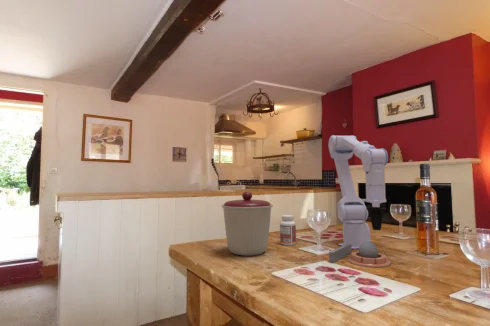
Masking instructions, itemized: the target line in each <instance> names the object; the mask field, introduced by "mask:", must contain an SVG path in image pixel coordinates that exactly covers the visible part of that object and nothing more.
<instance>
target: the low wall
mask: <svg viewBox="0 0 490 326" xmlns="http://www.w3.org/2000/svg"><path fill="white" fill-rule="evenodd" d="M352 252H353V251H352V248H351V244H349V243H348V244H346V245H343V246H341V245H340V247H338V248H335V249H334V250H331V251H329V252H328V261H329V262H328V263H331V264H334V263H336V262H338V261H339V260H341V259H343V258H345V257H346V256H348V255H350V254H352Z"/></svg>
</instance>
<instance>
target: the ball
mask: <svg viewBox="0 0 490 326" xmlns="http://www.w3.org/2000/svg"><path fill="white" fill-rule="evenodd" d="M358 251H359V254H360V256H361V257H364V258H376V257H377V255H378V253H379V249H378V247H377V245H376V244H375V243H373V242H372V241H370V242H368V241H367V242H363V243H361V244H360V246H359V248H358Z"/></svg>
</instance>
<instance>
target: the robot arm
mask: <svg viewBox="0 0 490 326" xmlns="http://www.w3.org/2000/svg"><path fill="white" fill-rule="evenodd" d="M328 151H329V154H330V158H331V159H333V160H334V165H335V169H336V174H337V177H338V183H339V187H340V191H341V195H342V196H341V199H340V200H338V202H337V204H336V206H337V208H336V209H337V213H336V215H337V218H338V219H339V220H340V222H341V223H342V241H343V242H341V243H338V244H337V245H338V246H340V247H341V246H343V245H346V244H348V243H349V244H351V248H352V249H353V250H355V249H356V250H358V249H359V246H360V244H361V243H363V242H367V241H368V242H371V228H370V226H369V224H368V223H366V221H367V219H368V217H369V219H370V222H371V227H372V230H373V231H381V230H382V225H383V218H384V215H385V212H386V210H387V208H386V204H383V203H387V198H386V176H385V174H386V173H385V167H386V165H387V164H388V161H389V155H388V151H387V150H386V149H385V148H384V147H382V148H377V147H375V145H371V144H369V141H367V140H363V141H359V140H357V136H355V135H334V134H332V135H331V136H330V137H329V139H328ZM353 155H354V156H355V157H356V158H358V159H359V160H361V164H362V167H363V171H364V174H365V197H366V198H360V197H359V196H358V195H357V194H356V189H355V185H354V182H353V177H352V173H351V169H350V164H349V159H351V158H352V157H353ZM366 203H370V204H367V205H365V204H366Z"/></svg>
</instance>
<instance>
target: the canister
mask: <svg viewBox="0 0 490 326" xmlns="http://www.w3.org/2000/svg"><path fill="white" fill-rule="evenodd" d="M241 198H242V199H233V200H227V201H226V202H224V204H222V205H221V208H222V209H223V218H224V226H225V235H226V243H227V248H228V250H229V252H230V253H232V254H234V255H236V256H243V257H244V256H247V257H248V256H249V257H251V256H257V255H261V254H264V252H266V250H267V247H268V242H269V235H270V228H271V227H270V226H271V214H272V208H273V206H274V204H271V203H270V202H269V201H267V200H262V199H252V198H253V194H252V192H250V191H244V192H243V193H242V194H241Z"/></svg>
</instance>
